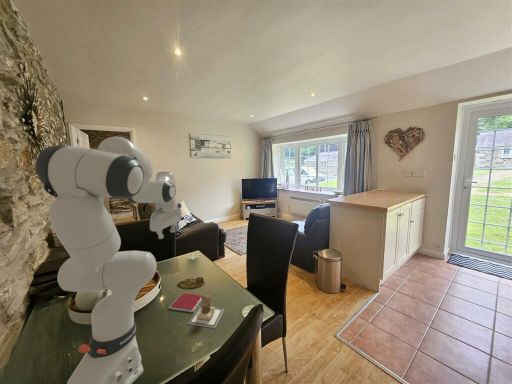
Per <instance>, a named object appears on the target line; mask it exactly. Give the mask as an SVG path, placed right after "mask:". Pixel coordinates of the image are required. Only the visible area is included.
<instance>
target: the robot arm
mask: <svg viewBox="0 0 512 384" xmlns="http://www.w3.org/2000/svg"><path fill="white" fill-rule="evenodd" d="M97 147H98V148H97V149H96V148H89V147H81V146H80V147H78V146H72V145H67V144H64V145H63V144H62V145H51V146H48V147H45V148H44V149H43V150H41V152H40V153H39V154H38V156H37V159H36V160H35V161H36V162H35V170H36V174H37V177H38V180H39V181H40V182H41V184H43V189H44V191H45V192H46V193H48V194H49V195H51V196H52V197H55V198H56V199H55V200H54V201H53V202H52V203H51V205H50V206H49V209H48V218H49V221H50V224H51V226H52V229H53V231H54V234H55V235H56V237H57V238H58V240H59V242H60V243H61V244H62V246H63V248H64V249H65V250H66V252H67V253H68V255H69V256H70V257H69V258H67V259H66V260H65V261H64V262H63V264H62V265H61V266H60V267H59V269H58V273H57V283H58V285H59V287H60V288H61V289H62V290H63V291H65V292H75V293H78V292H79V293H90V292H98V291H99V292H100V291H107V290H108V291H110V292H111V294H109V295H107V296H105V297H104V298H102V299H101V300H99V301H98V302H97V303H96V304H95V305H94V307H93V308H92V311H91V314H90V317H91V321H90V322H91V335H90V339H89V342H88V344H86V343H82V344H81V345H79V348H78V353H83V354H84V356H83V357H82V359H81V360H80V362H79V364H78V365H77V366H76V367H75V369H74V371H73V373H72V374H71V375H70V377H69V378H68V380H67V382H66V384H133V383H134V382H135V381H136V380H137V379H138V378H139V377H140V376H141V375H142V374H143V373H144V367H143V364H142V355H141V353H140V351H139V346H138V342H137V338H136V334H137V324H136V319H135V316H134V315H135V312H134V311H135V301H136V297H137V295H138V294H139V292H140V290H141V289H142V288H143V287H144V286H146V285H147V284H148V283H149V282H150V281H151V280H152V279H153V278H154V276H155V274H156V271H157V266H158V265H157V261H156V257H155V256H154V255H153V254H152V253H151V252H150V251H142V250H124V251H122V250H121V251H119V250H120V247H121V244H122V241H121V236H120V234H119V232H118V229H117V227H116V225H115V222H114V220H113V217H112V216H111V214H110V212H109V211H108V210H107V209H108V208H106V207H105V198H112V199H114V200H126V199H127V201H129V203H131V204H142V203H143V204H155V210H152V211H153V212H152V213H151V216H150V219H149V230H150V231H151V232H156V235H158V240H162V239H164V236H165V235H164V234H163V230H164V229H166V228H168V227H170V226H171V227H170V229H169V231H170V233H172V234H173V233H175V232H176V226H177V223H180V221H181V220H182V209H181V208H182V203H180V202H177V198H176V194H177V193H176V192H177V187H176V178H175V174H174V173H172V172H168V171H160V172H157V173H156V175H155V180H153V179H151V178H152V176H153V174H154V166H153V163H152V161H151V160H150V158H149V157H148V156H147V155H146V153H144V151H143V150H142V149H141V148H140V147H139V146H137V145H136V144H135V143H133V142H132V141H130V140H129V139H127V138H125V137H123V136H122V137H121V136H110V137H107V138H105V139H104V140H103V141H101V142H100V143H99V145H98V146H97Z"/></svg>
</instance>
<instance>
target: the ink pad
mask: <svg viewBox="0 0 512 384" xmlns="http://www.w3.org/2000/svg"><path fill="white" fill-rule="evenodd" d="M203 295H204V294H203ZM203 295H202V294H194V293H188V292H181V293H180V294H179V295H178V297H177V298H176V299H175V300H174V301H173V302H172V304H171V305H170V306H169V307H168V309H169V310H173V311H180V312H185V313H186V312H187V313H195V312H196V311H197V310H196V309H198V308H199V306H200V304H201V303H202V296H203Z"/></svg>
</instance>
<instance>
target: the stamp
mask: <svg viewBox="0 0 512 384" xmlns="http://www.w3.org/2000/svg"><path fill="white" fill-rule="evenodd" d="M201 306H202V307H201V309H200V310H199V312H198V313H197V319H198V320H205V321H210V320H211V319H212V317H213V315H214V313H215V306H211V295H209V294H203V296H202V301H201Z"/></svg>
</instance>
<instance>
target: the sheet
mask: <svg viewBox="0 0 512 384" xmlns="http://www.w3.org/2000/svg"><path fill="white" fill-rule="evenodd" d="M201 307H202V304H201V305H200V304H199V305H198V307H197V308H196V309H197V310H195V311H194V314H193V315H192V316H191V318H190V320H189V321H188V322H187V325H193V326H198V327H199V326H200V327H205V328H212V329H215V328H216V327H217V325H218V323H219V322H220V319H221V317H222V315H223V312H224V310H225V308H223V307H215V306H214V307H215V313H214V315H213V317H212V319H211V320H210V321H205V320H198V319H197V313H198V312H199V310H200V309H201Z"/></svg>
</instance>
